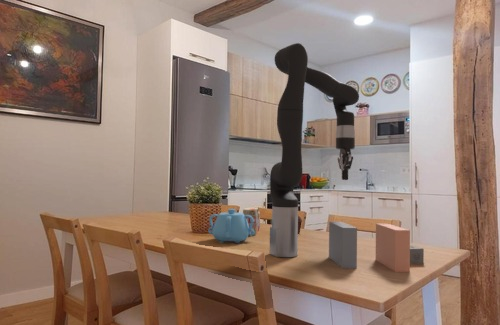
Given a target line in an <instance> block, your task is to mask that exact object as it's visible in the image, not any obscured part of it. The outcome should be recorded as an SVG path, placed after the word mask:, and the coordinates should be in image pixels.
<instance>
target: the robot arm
mask: <svg viewBox="0 0 500 325" xmlns="http://www.w3.org/2000/svg"><path fill="white" fill-rule="evenodd" d="M308 57H309V55H308V52H307V49H306V47H305V46H304V44H302V43H299V42H298V43H297V42H295V43H292V44H290V45H288V46H285V47H283V48H281V49H279V50H278V51H277V52H276V53H275V55H274V64H275V66H276V68H277V70H278V71H279V72H281V73H282V74H285V75H287V76H288V77H287V82H286V85H285V88H284V91H283V93H282V95H281V97H280V99H279V101H278V103H277V104H278V105H277V116H276V126H277V128H276V129H277V131H278V134H279V135H278V136H279V138H280V141H281V147H282V150H281V151H282V152H281V161H279V162H276V163H275V164H274V165H272V168H271V170H270V173H269V174H270V176H269V184H270V185H269V188H270V189H269V191H270V193H269V194H270V198H271V204H272V207H271V208H272V211H271V212H272V214H271V220H272V221H271V226H270V227H269V255H272V256H274V257H276V258H280V257H281V258H294V257H297V256H298V253H299V252H298V250H299V248H298V242H299V240H298V238H299V236H298V216H299V199H298V198H297V196H296V195H295V192H294V188H295V187H298V185H299V184H301V182H302V178H303V160H302V158H303V156H302V143H303V141H302V139H303V121H304V97H305V85H306V84H307V85H309V86H311V87H313V88H315V89H317V90H318V91H320V92H321V93H323V95H325V96H327V97H329V98H332V105H333V107H334V111H335V116H336V130H335V149H336V150H339V154H338V157H337V163H338V167H339V169H340V170H341V180H342V181H348V180H349V170H351V168H352V164H353V160H354V156H352V152H351V151H352V150H354V149H355V148H356V146H355V144H356V140H355V139H356V129H355V113H354V112H353V111H348V110H347V107H349V106H353V105H355V104H357V103H358V102H359V99H360V94H359V92H358V90H357V89H356V88H355V87H353V85H350V84H347V83H344V82H341V81H339V80H337V79H336V78H335V77H333V76H332V75H331V74H329V73H327V72H325V71H322V70H318V69H316V68H312V67H309V66H308V63H309V62H308V60H309V58H308ZM305 83H306V84H305Z"/></svg>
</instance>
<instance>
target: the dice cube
mask: <svg viewBox="0 0 500 325" xmlns="http://www.w3.org/2000/svg"><path fill="white" fill-rule="evenodd" d="M424 257H425V256H424V248H423V247H419V246H416V245H410V265H417V264H419V265H423V264H425V263H424V261H425V260H424V259H425V258H424Z"/></svg>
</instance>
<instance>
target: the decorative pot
mask: <svg viewBox="0 0 500 325" xmlns="http://www.w3.org/2000/svg"><path fill="white" fill-rule="evenodd" d="M227 211H228V212H219V213H218V214H217V213H214V214H211V215H210V217H209V219H208V220H209V224H210V227H209V228H208V234H210V235H212V237H213V238H214V239H215V240H216V241H219V243H226V242H233V243H235V244H240V243H241V242H242V241H246V240H247V238H248V237H250V236H251V235H254V230H253V229H251V228H252V226H253V222H254V220H253V218H252V217H251V216H250V215H244V214H243V212H242V213H241V212H236V208H228V209H227ZM214 217H216V219H215V221H214V224H213V218H214ZM246 217H249V218H250V219H251V224H250V227H249V226H248V222H247V220H246ZM250 231H252V233H250ZM248 235H250V236H248ZM251 237H252V236H251Z"/></svg>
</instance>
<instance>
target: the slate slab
mask: <svg viewBox="0 0 500 325" xmlns="http://www.w3.org/2000/svg"><path fill="white" fill-rule="evenodd" d="M328 226H329V227H328V229H329V230H328V259H330V260H332V261H333V262H334V263H336V265H337V266H339V267H341V269H357V266H358V227H355V226H353V225H351V224H348V223H346V222H343V221H329V222H328Z"/></svg>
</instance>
